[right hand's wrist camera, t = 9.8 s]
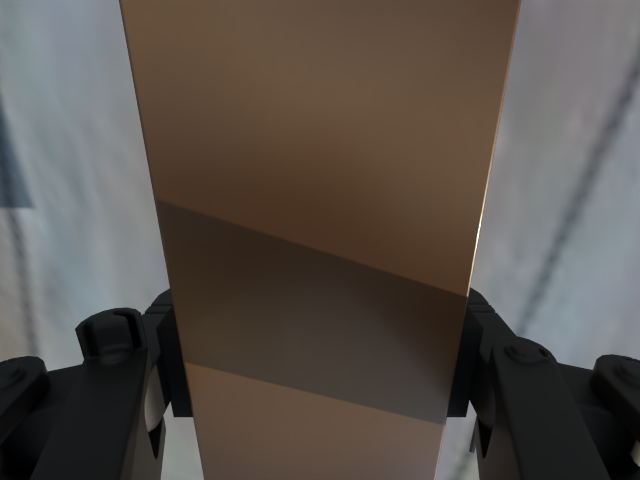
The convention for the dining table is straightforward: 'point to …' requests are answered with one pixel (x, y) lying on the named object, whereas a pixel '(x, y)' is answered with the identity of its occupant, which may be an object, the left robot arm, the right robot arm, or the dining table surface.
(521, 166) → the dining table surface
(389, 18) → the post
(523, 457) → the right robot arm
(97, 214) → the dining table surface
